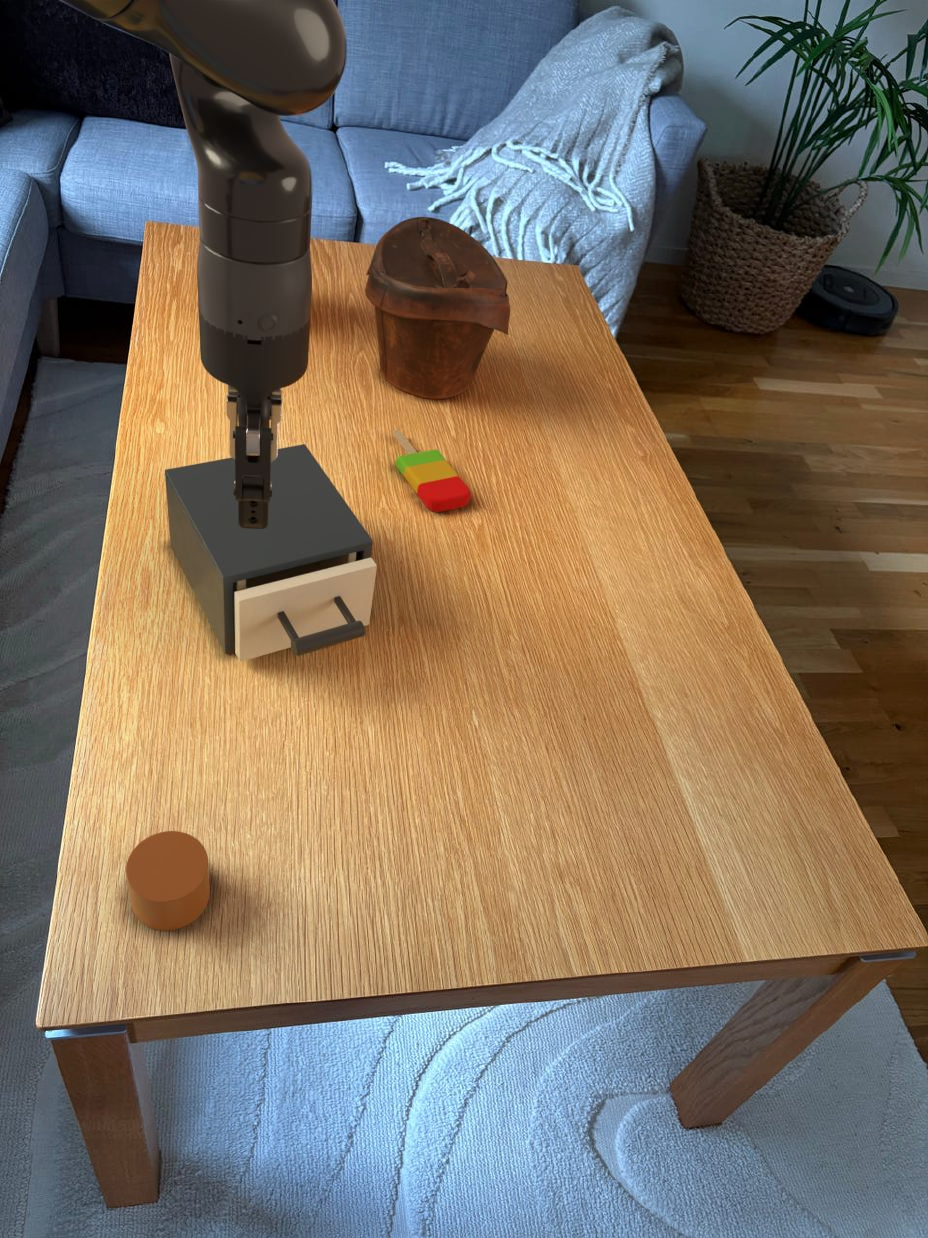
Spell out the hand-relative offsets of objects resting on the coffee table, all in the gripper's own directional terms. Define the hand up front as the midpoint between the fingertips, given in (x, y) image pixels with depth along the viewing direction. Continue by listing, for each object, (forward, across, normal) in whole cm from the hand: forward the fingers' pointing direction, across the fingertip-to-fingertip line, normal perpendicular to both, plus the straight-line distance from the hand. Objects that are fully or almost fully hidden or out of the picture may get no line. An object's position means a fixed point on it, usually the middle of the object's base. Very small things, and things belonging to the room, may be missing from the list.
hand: (254, 491), depth 74 cm
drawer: (+17, -4, +3) cm, 18 cm away
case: (+18, -50, +22) cm, 57 cm away
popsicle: (+18, -28, +19) cm, 38 cm away
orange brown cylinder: (+18, +26, -6) cm, 32 cm away
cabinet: (+18, -8, +1) cm, 20 cm away
